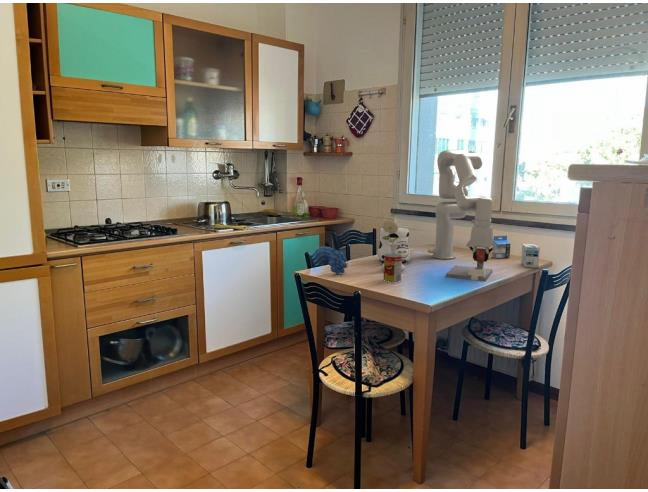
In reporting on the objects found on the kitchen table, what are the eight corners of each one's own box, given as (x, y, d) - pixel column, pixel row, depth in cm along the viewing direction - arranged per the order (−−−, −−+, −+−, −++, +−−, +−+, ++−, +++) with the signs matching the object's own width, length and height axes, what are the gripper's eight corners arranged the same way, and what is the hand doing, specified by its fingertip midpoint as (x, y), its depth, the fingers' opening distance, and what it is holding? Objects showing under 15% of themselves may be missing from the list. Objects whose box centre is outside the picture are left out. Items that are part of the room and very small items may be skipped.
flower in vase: (409, 270, 234) (410, 220, 230) (396, 274, 226) (397, 223, 222) (387, 266, 243) (388, 218, 239) (374, 270, 235) (375, 220, 231)
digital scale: (445, 276, 222) (446, 273, 222) (455, 268, 240) (455, 265, 240) (485, 281, 214) (485, 277, 214) (492, 272, 232) (492, 269, 231)
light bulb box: (538, 268, 241) (540, 247, 239) (524, 267, 242) (526, 246, 240) (533, 263, 251) (535, 243, 249) (520, 263, 253) (522, 243, 251)
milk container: (403, 266, 243) (404, 232, 240) (372, 263, 252) (373, 229, 249) (414, 260, 258) (415, 228, 255) (384, 257, 267) (385, 226, 263)
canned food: (389, 277, 220) (390, 252, 218) (404, 280, 216) (405, 254, 213) (380, 280, 214) (380, 255, 212) (395, 283, 210) (396, 257, 207)
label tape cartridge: (495, 258, 263) (497, 237, 261) (491, 257, 267) (493, 236, 265) (509, 258, 265) (511, 236, 263) (505, 256, 269) (507, 235, 267)
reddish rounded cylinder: (474, 267, 227) (475, 249, 226) (476, 265, 231) (477, 247, 229) (484, 268, 225) (485, 250, 224) (485, 266, 229) (486, 248, 227)
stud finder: (468, 275, 219) (468, 268, 218) (470, 272, 223) (470, 266, 223) (483, 276, 216) (484, 269, 215) (485, 274, 220) (486, 267, 220)
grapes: (335, 278, 219) (335, 253, 217) (325, 275, 224) (325, 251, 222) (352, 274, 227) (353, 249, 224) (342, 272, 231) (343, 248, 229)
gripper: (463, 223, 225) (461, 260, 228) (500, 225, 217) (497, 264, 220) (466, 221, 231) (464, 257, 235) (502, 223, 224) (499, 261, 227)
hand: (480, 260), depth 228 cm, fingers closed on reddish rounded cylinder, 4 cm apart
